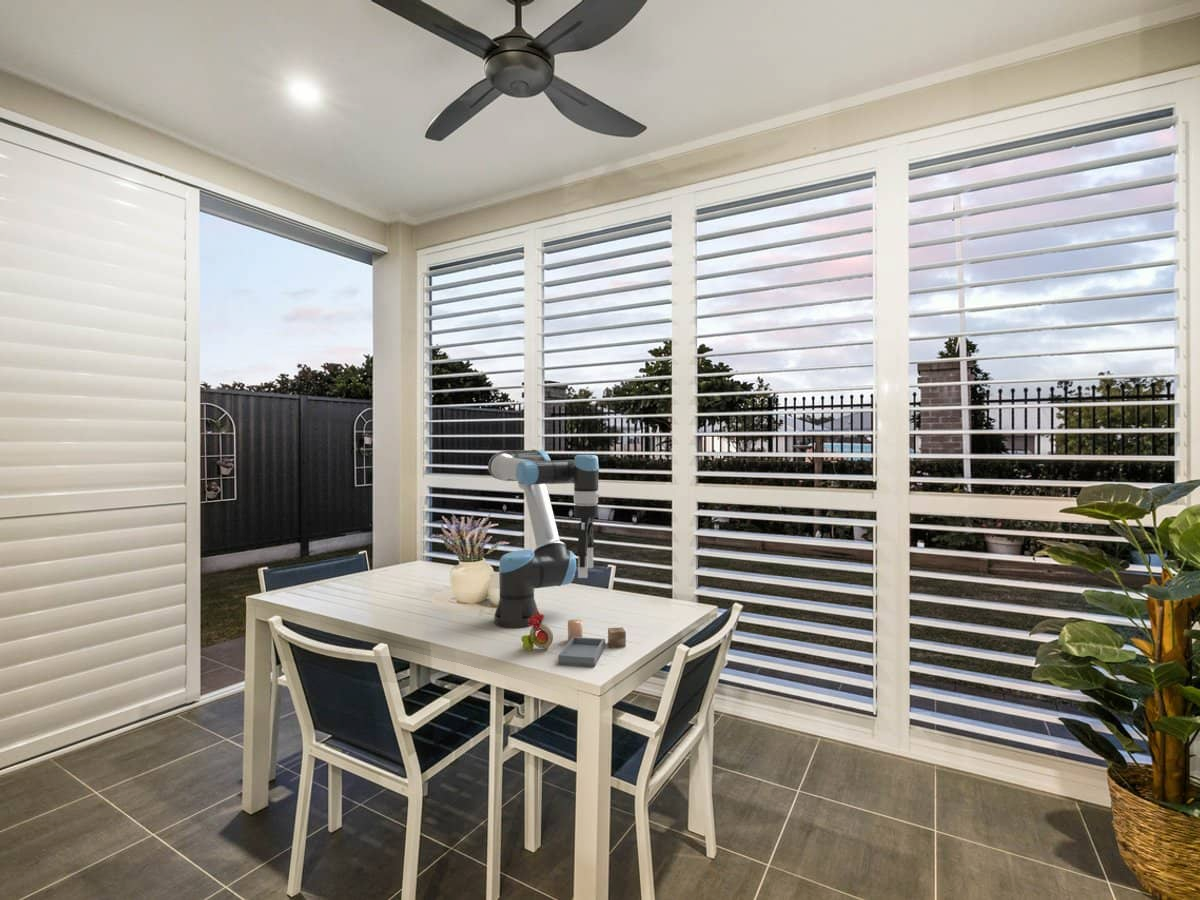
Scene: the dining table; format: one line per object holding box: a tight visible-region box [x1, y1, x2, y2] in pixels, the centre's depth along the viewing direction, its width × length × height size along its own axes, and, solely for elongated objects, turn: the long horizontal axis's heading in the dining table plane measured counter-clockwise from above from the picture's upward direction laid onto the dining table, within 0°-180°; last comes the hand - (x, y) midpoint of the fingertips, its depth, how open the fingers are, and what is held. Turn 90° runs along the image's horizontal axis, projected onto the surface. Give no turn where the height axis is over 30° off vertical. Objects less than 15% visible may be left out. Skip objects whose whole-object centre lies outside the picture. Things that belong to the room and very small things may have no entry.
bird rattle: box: [520, 610, 554, 652], centre depth 174 cm, size 6×11×9 cm
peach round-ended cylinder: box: [567, 618, 583, 643], centre depth 181 cm, size 4×4×6 cm
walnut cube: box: [607, 627, 627, 648], centre depth 177 cm, size 4×4×4 cm
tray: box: [558, 636, 606, 668], centre depth 168 cm, size 10×16×2 cm, turn 169°
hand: (585, 572), depth 184 cm, fingers open, 13 cm apart
